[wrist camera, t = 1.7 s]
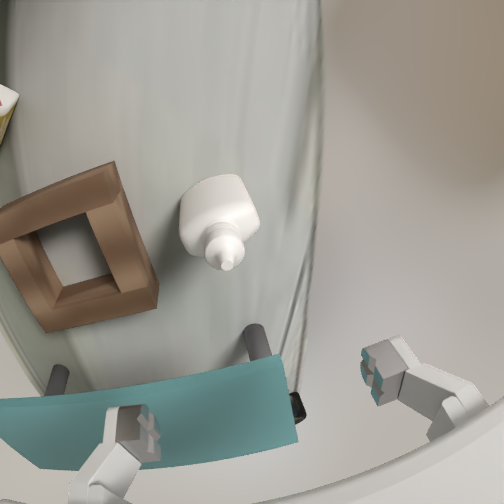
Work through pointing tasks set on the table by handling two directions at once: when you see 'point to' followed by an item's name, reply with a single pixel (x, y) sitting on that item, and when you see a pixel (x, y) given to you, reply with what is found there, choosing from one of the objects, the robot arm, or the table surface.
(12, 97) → the juice carton
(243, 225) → the eye dropper bottle
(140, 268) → the socket block
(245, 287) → the table surface
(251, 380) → the teal slab bridge
